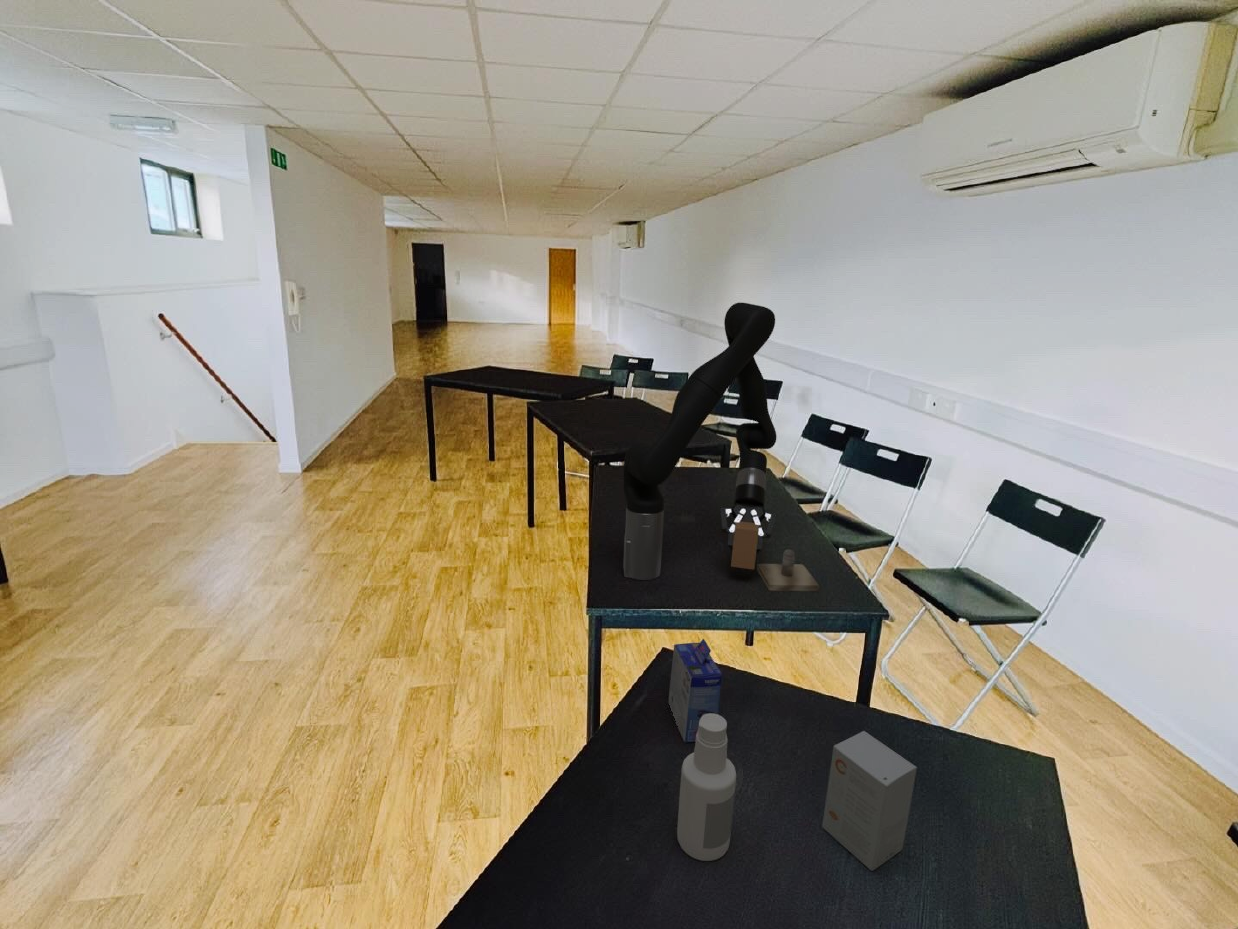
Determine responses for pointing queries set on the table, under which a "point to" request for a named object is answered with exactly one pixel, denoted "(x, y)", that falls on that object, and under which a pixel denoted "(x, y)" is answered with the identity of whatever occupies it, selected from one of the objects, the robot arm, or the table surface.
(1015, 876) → the table surface
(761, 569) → the post stand
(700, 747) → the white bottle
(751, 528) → the tall brown carton
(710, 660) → the ink cartridge box
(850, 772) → the small box
